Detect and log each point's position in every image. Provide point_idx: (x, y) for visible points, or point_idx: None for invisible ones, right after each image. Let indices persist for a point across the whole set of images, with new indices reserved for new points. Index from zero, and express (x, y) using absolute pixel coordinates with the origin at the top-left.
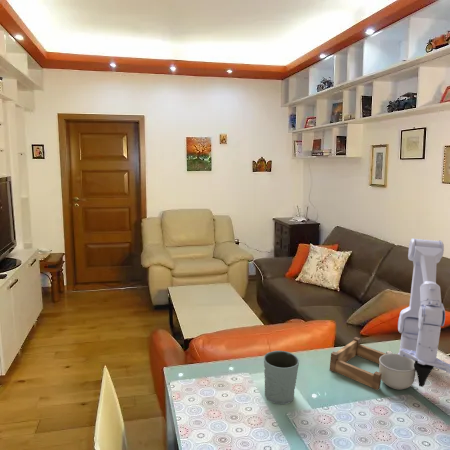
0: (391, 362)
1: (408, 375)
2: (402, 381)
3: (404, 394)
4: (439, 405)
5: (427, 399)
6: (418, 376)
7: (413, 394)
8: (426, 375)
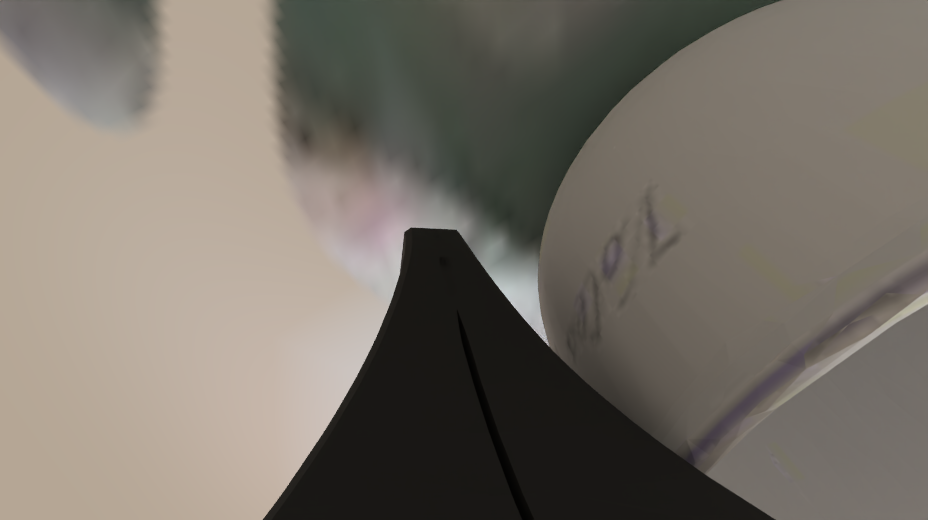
0: (849, 419)
1: (773, 206)
2: (796, 53)
3: (603, 8)
4: (88, 43)
5: (297, 97)
6: (521, 333)
7: (488, 99)
8: (349, 416)
